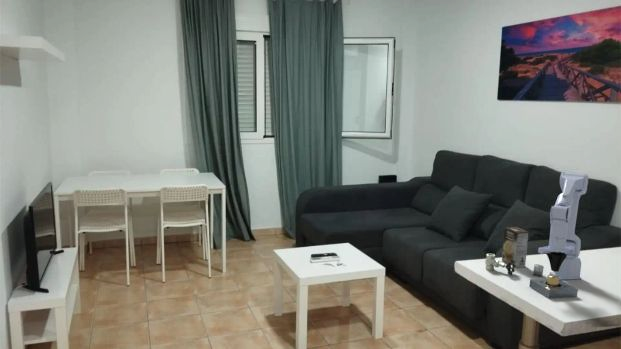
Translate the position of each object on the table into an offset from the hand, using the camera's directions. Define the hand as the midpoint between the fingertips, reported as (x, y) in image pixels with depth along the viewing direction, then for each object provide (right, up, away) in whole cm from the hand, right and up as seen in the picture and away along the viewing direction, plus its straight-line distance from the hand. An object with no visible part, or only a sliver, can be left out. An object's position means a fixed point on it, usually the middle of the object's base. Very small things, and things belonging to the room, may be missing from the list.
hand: (554, 270), depth 195 cm
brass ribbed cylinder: (0, -8, +2) cm, 8 cm away
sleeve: (+2, -6, +20) cm, 21 cm away
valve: (-13, -5, +23) cm, 27 cm away
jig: (0, -8, +1) cm, 8 cm away
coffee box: (-2, -4, +34) cm, 34 cm away
